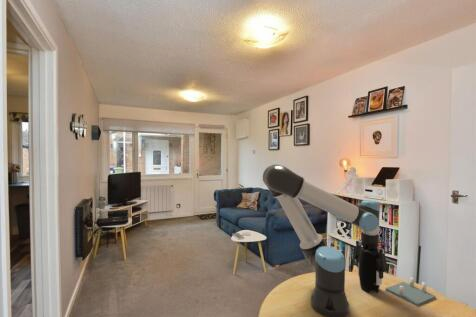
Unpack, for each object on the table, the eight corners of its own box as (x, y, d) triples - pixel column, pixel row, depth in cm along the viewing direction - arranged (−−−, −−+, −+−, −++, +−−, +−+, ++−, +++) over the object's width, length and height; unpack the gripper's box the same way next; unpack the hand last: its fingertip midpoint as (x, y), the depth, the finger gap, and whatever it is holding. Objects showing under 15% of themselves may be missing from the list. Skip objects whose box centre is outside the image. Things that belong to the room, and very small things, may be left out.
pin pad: (417, 306, 106) (417, 294, 106) (385, 290, 118) (385, 279, 118) (435, 298, 112) (435, 287, 112) (403, 283, 124) (403, 273, 124)
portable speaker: (382, 295, 114) (382, 253, 113) (359, 291, 117) (359, 250, 117) (379, 286, 122) (379, 246, 121) (357, 282, 125) (358, 244, 125)
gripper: (397, 238, 111) (397, 289, 111) (355, 226, 130) (355, 269, 131) (387, 241, 108) (386, 292, 108) (345, 228, 127) (345, 271, 127)
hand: (369, 279), depth 119 cm, fingers closed on portable speaker, 9 cm apart
